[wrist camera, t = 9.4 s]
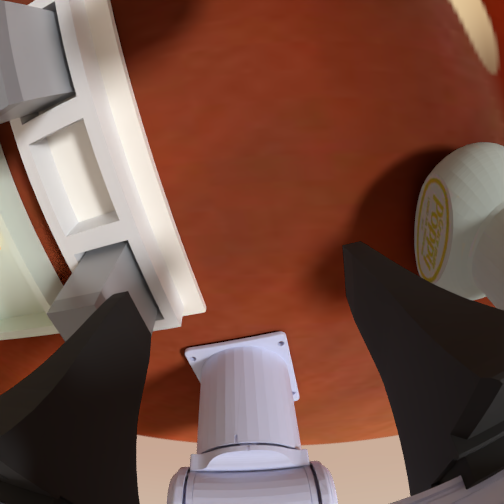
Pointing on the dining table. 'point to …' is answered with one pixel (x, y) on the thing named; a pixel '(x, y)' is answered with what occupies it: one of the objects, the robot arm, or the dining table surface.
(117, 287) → the block
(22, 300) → the tray
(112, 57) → the fuse holder
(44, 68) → the block
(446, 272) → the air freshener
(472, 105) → the dining table surface
